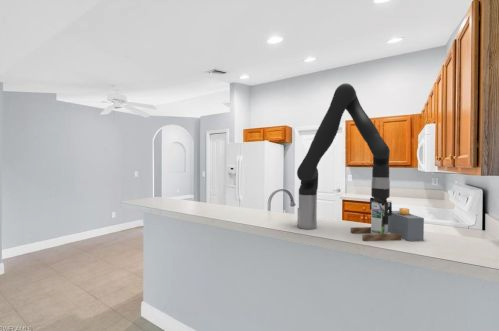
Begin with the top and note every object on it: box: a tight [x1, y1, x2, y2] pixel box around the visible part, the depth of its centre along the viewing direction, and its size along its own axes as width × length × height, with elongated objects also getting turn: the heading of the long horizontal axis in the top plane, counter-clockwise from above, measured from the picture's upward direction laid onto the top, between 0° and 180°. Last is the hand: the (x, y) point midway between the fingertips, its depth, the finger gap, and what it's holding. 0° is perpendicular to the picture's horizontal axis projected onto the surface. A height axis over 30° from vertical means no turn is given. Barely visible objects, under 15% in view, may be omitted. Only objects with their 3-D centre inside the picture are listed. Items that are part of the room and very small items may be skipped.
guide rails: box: [350, 226, 402, 242], centre depth 123 cm, size 17×13×2 cm
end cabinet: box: [388, 210, 425, 242], centre depth 124 cm, size 7×16×10 cm, turn 4°
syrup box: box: [370, 202, 389, 234], centre depth 123 cm, size 6×6×14 cm
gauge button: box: [398, 207, 410, 216], centre depth 123 cm, size 4×4×4 cm
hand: (379, 222), depth 123 cm, fingers closed on syrup box, 8 cm apart
